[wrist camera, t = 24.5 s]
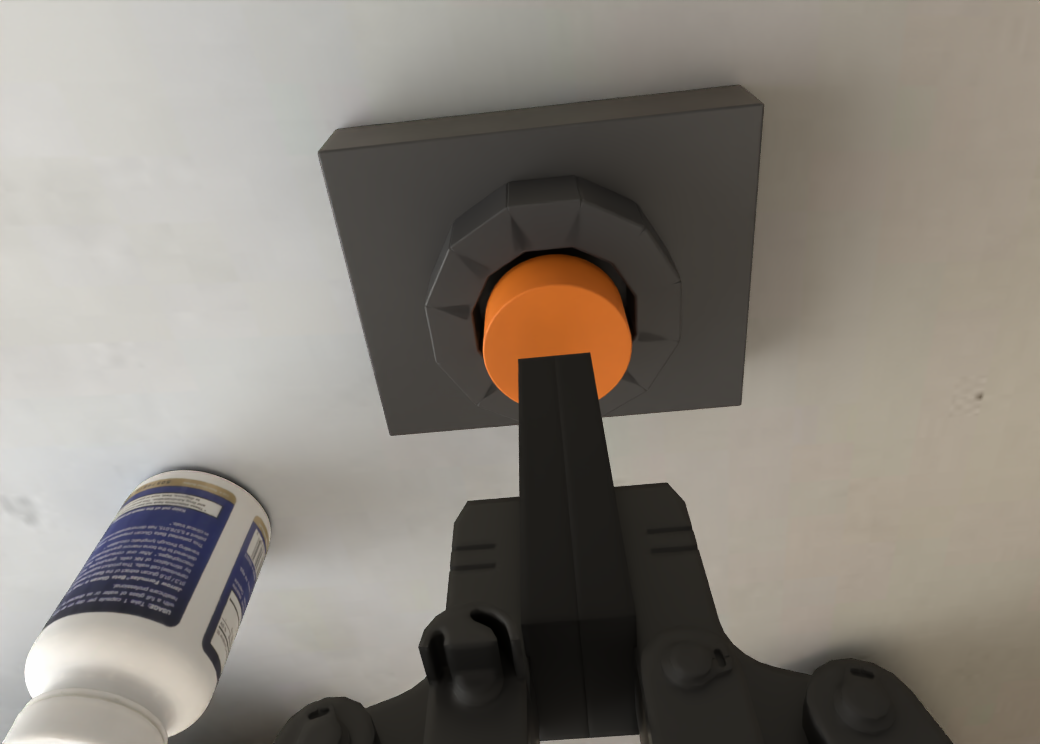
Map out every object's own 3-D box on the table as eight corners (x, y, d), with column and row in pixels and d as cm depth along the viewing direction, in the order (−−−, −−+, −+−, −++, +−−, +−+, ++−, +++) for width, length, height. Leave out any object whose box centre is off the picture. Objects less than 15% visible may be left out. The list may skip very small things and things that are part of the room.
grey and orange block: (741, 83, 19) (789, 122, 16) (724, 367, 24) (758, 442, 21) (334, 128, 20) (297, 174, 16) (398, 396, 25) (380, 474, 21)
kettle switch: (621, 246, 18) (630, 276, 16) (625, 368, 20) (634, 405, 18) (476, 260, 18) (472, 292, 16) (494, 380, 20) (492, 418, 18)
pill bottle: (98, 505, 27) (-81, 764, 19) (197, 442, 26) (47, 695, 17) (207, 585, 30) (89, 844, 21) (303, 532, 28) (215, 791, 20)
